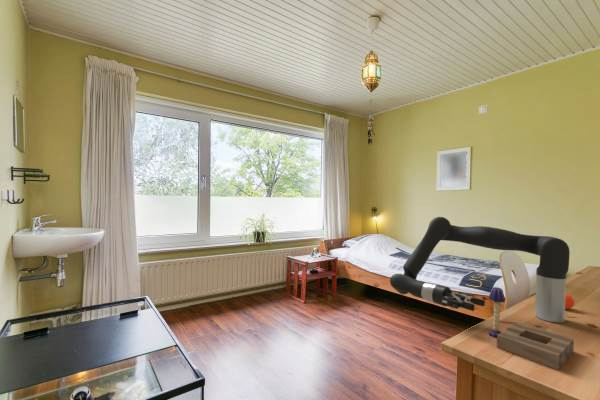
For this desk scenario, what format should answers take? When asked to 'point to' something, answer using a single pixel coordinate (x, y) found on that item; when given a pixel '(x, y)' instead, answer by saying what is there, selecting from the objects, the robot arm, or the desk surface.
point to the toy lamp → (496, 309)
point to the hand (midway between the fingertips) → (479, 305)
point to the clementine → (568, 301)
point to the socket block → (536, 344)
